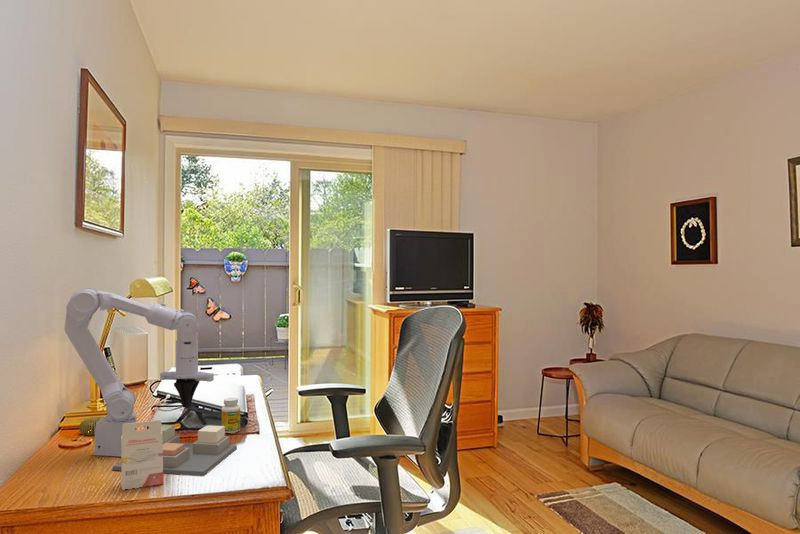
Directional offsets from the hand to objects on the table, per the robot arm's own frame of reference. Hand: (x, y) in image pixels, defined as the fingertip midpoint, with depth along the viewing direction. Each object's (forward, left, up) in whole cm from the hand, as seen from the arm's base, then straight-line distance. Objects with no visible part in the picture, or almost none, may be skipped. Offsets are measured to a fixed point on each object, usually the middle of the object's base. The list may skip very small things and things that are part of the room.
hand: (186, 406), depth 154 cm
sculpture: (-32, +6, -11) cm, 34 cm away
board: (+3, -11, -10) cm, 16 cm away
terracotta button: (+4, -16, -9) cm, 19 cm away
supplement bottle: (+7, +13, -11) cm, 18 cm away
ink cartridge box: (+3, -27, -11) cm, 29 cm away
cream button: (+10, -6, -7) cm, 14 cm away
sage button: (-3, -7, -7) cm, 11 cm away
